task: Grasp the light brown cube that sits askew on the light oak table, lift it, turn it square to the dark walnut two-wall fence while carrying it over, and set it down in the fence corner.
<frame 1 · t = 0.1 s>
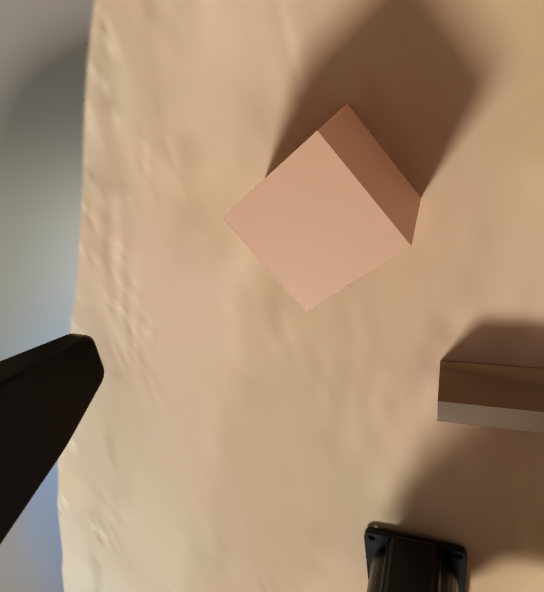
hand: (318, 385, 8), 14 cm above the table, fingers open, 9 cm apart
light brown cube: (339, 186, 21), on the table
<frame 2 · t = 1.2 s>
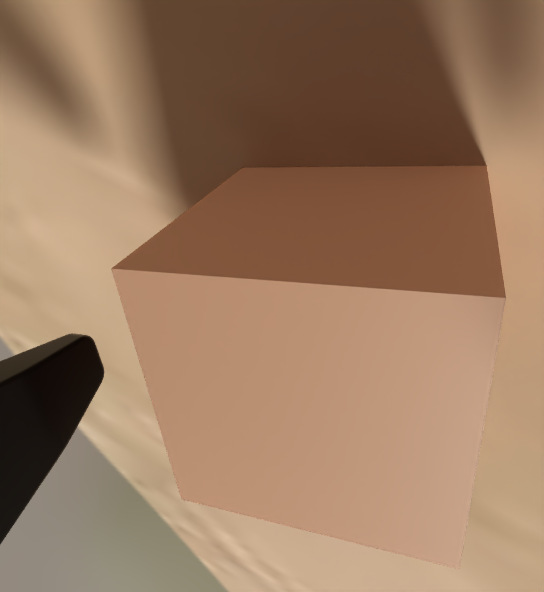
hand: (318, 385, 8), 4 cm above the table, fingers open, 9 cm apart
light brown cube: (356, 272, 11), on the table
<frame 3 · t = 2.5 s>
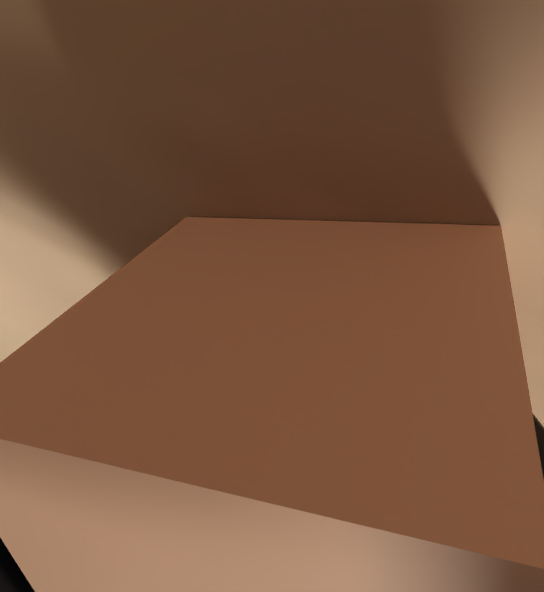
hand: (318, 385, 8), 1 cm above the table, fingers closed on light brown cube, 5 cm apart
light brown cube: (332, 348, 9), on the table, touching gripper
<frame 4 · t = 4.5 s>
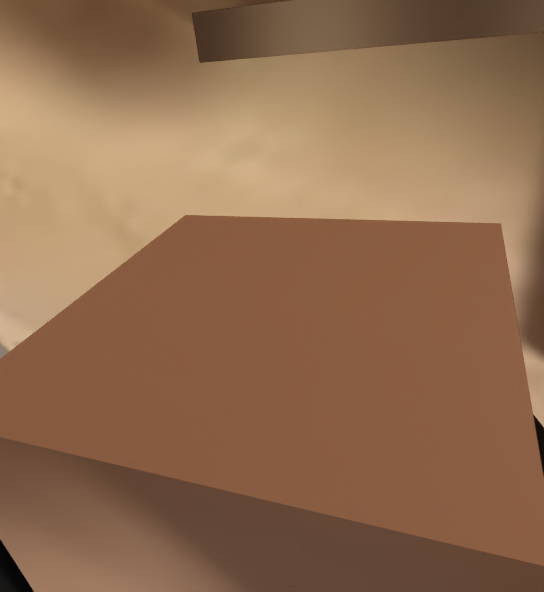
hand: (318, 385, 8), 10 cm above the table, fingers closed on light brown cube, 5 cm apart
walnut fence: (470, 6, 13), on the table
light brown cube: (331, 347, 9), point 9 cm above the table, touching gripper
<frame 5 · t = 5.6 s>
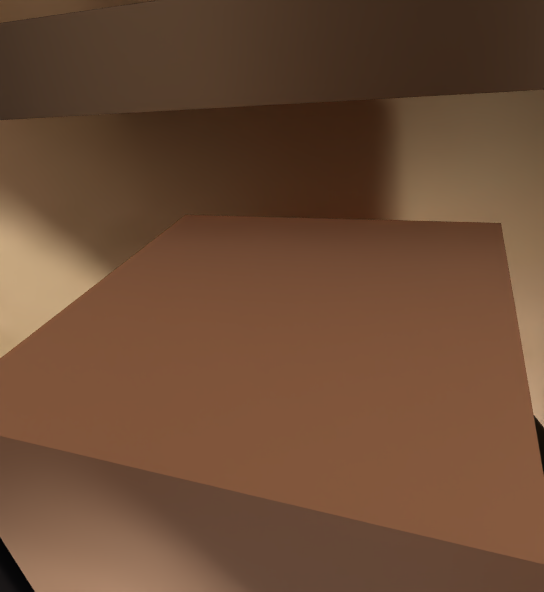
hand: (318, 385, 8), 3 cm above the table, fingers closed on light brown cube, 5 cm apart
walnut fence: (475, 17, 7), on the table
light brown cube: (331, 346, 9), point 2 cm above the table, touching gripper
when the fingers open (3 cm above the table, at t = 6.3 s): light brown cube drops 2 cm, on the table.
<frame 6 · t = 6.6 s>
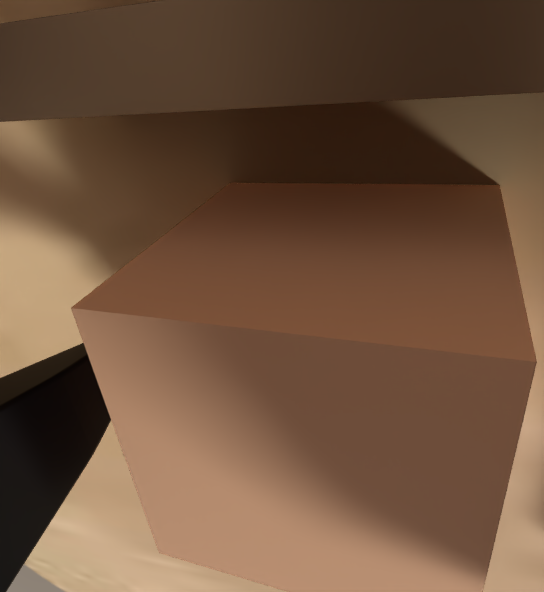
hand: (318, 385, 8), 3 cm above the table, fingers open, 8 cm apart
walnut fence: (477, 18, 7), on the table
light brown cube: (354, 296, 10), on the table
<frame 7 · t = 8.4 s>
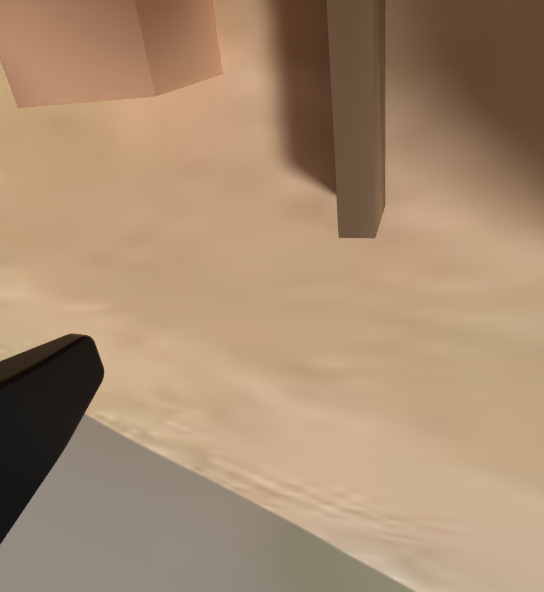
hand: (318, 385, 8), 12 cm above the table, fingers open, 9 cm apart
light brown cube: (148, 3, 17), on the table
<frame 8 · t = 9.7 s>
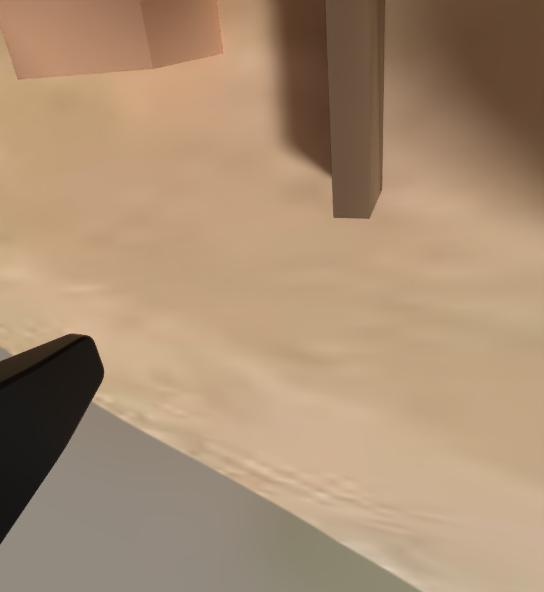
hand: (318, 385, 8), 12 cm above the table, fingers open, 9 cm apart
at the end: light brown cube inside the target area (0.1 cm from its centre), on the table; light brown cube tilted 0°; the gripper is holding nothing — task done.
